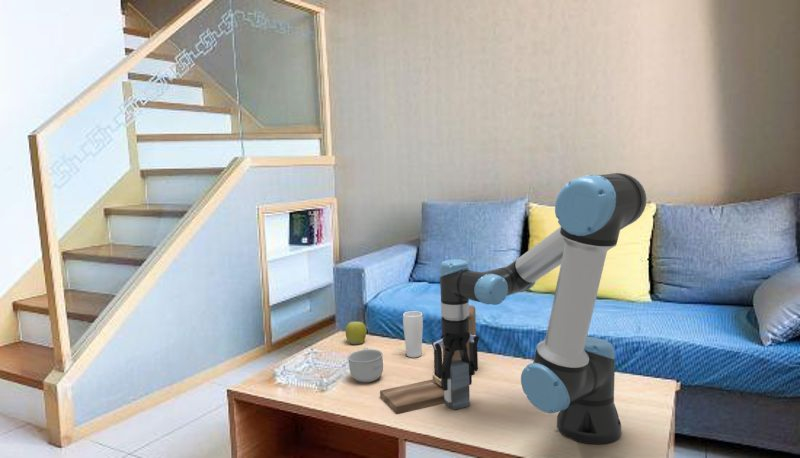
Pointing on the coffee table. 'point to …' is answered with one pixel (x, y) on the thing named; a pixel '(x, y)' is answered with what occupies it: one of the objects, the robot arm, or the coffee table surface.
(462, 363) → the grey block
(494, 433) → the coffee table surface
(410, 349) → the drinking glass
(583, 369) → the robot arm
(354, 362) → the teacup
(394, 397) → the board
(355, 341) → the apple
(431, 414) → the coffee table surface
